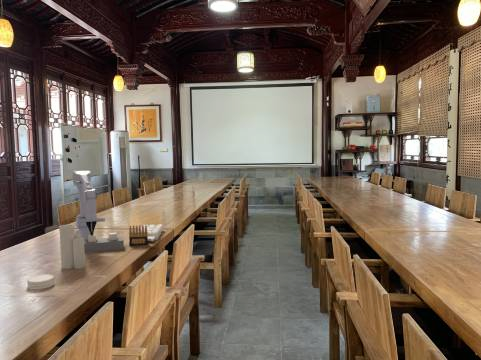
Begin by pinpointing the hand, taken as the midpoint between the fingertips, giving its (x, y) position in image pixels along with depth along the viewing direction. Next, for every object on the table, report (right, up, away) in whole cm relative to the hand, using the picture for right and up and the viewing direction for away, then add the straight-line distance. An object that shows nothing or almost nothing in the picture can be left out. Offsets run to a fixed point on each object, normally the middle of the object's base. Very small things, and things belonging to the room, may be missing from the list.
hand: (91, 235), depth 212 cm
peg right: (+10, -4, +4) cm, 12 cm away
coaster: (0, -14, -54) cm, 56 cm away
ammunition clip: (+23, -8, +11) cm, 27 cm away
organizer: (+24, -6, +32) cm, 40 cm away
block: (+5, -8, +3) cm, 10 cm away
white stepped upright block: (+3, -11, -29) cm, 31 cm away
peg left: (0, -5, 0) cm, 5 cm away
